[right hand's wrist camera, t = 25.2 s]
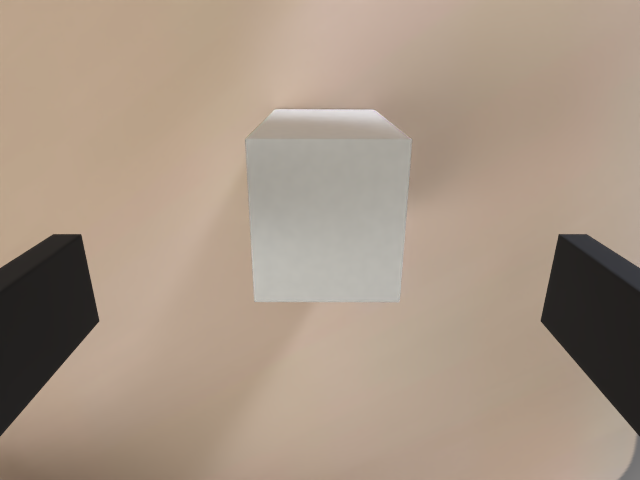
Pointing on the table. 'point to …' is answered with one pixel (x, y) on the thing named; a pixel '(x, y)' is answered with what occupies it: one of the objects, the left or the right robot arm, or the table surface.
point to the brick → (327, 206)
